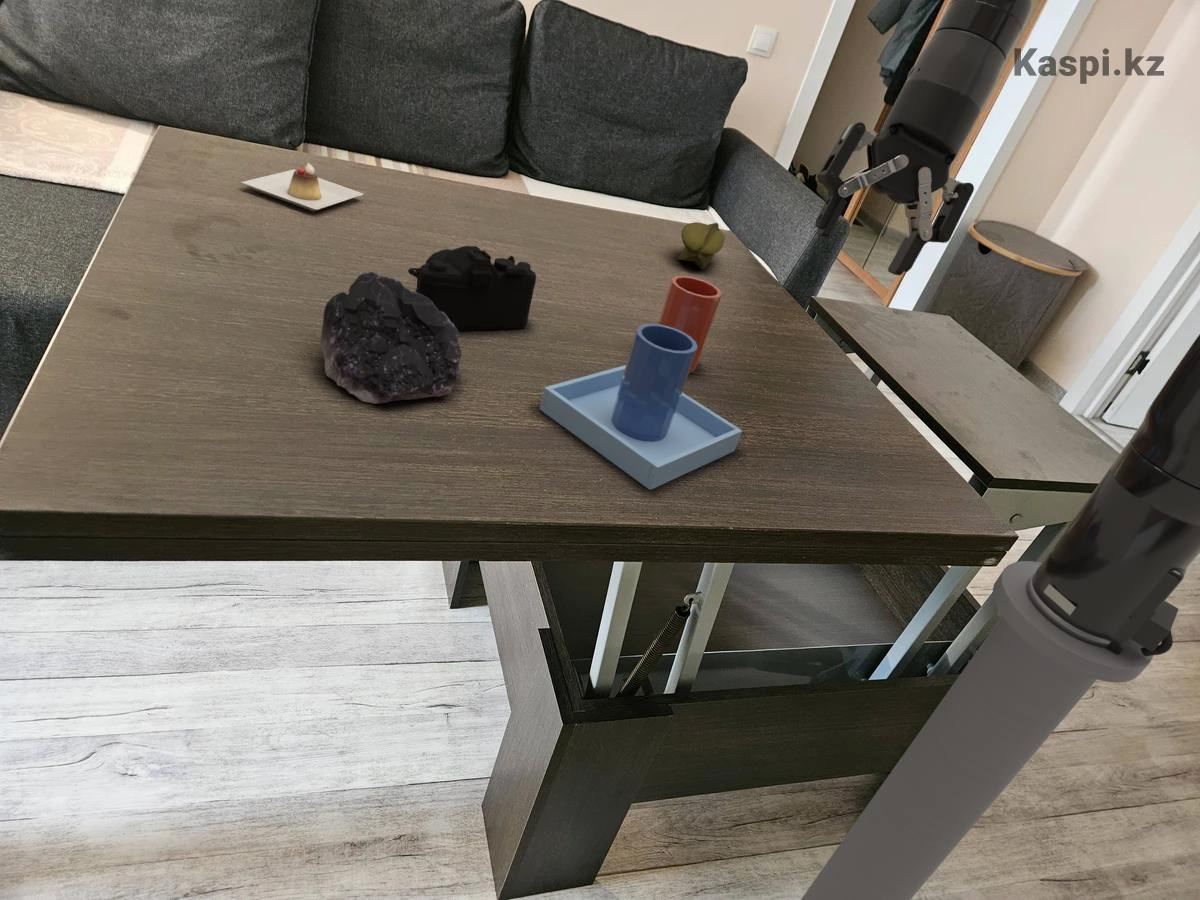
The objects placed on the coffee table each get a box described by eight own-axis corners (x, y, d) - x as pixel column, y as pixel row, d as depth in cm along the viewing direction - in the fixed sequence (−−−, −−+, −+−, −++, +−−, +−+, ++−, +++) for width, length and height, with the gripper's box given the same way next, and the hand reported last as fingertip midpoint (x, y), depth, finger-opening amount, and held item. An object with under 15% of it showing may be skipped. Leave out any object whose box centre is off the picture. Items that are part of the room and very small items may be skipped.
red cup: (704, 368, 98) (731, 294, 93) (675, 377, 94) (701, 300, 89) (668, 346, 101) (692, 273, 96) (639, 354, 97) (661, 278, 92)
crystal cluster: (463, 422, 76) (488, 326, 72) (314, 401, 71) (332, 296, 66) (446, 364, 87) (467, 278, 82) (316, 342, 81) (331, 249, 77)
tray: (734, 451, 83) (742, 430, 81) (649, 490, 73) (657, 467, 71) (629, 382, 90) (635, 362, 89) (539, 409, 80) (544, 387, 79)
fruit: (652, 246, 135) (663, 208, 132) (709, 251, 141) (721, 215, 138) (685, 273, 127) (697, 234, 124) (744, 278, 133) (757, 240, 129)
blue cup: (679, 433, 82) (709, 347, 77) (642, 447, 78) (671, 357, 72) (636, 404, 85) (662, 320, 79) (599, 417, 80) (624, 328, 75)
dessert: (240, 190, 110) (240, 155, 108) (293, 176, 120) (295, 144, 118) (316, 217, 109) (318, 182, 106) (363, 201, 119) (366, 169, 116)
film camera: (501, 296, 102) (514, 228, 97) (535, 331, 95) (550, 260, 91) (385, 296, 93) (393, 222, 89) (414, 334, 87) (424, 257, 82)
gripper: (897, 51, 70) (809, 223, 74) (1027, 126, 73) (935, 288, 77) (864, 67, 77) (785, 223, 81) (983, 134, 80) (901, 282, 84)
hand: (858, 254), depth 79 cm, fingers open, 8 cm apart
